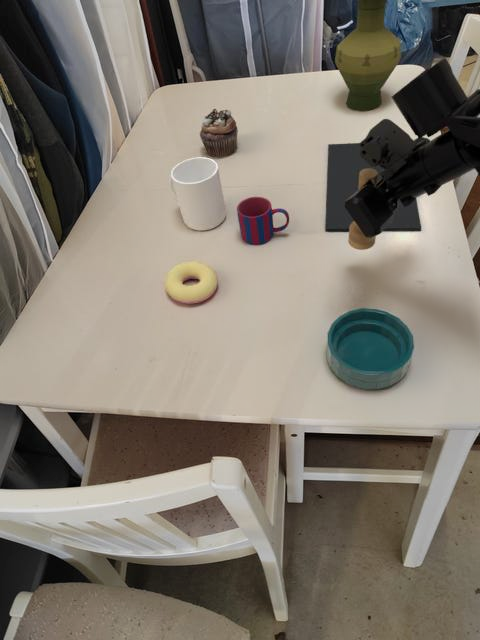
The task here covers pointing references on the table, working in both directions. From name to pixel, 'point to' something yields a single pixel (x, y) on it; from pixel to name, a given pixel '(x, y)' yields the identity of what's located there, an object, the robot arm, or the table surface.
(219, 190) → the mug
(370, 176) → the stick
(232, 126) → the cupcake
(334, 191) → the mat
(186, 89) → the table surface
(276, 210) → the cup
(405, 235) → the table surface
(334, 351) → the bowl
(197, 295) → the donut
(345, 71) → the vase
